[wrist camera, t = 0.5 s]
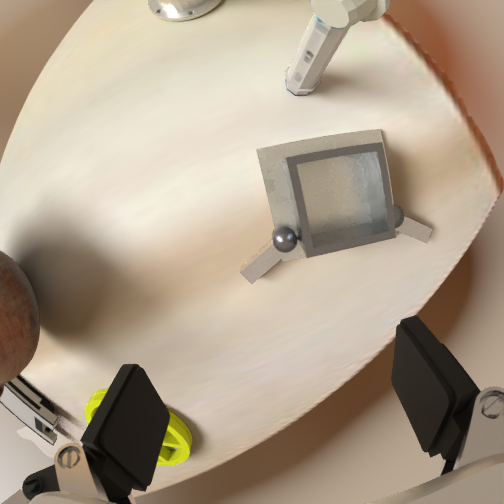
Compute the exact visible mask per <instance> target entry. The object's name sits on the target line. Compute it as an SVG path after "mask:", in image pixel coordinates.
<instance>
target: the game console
mask: <svg viewBox="0 0 504 504" xmlns="http://www.w3.org/2000/svg"><path fill="white" fill-rule="evenodd" d="M0 402H1V403H2V404H3V405H4V406H5V407H6V408H7V409H8V410H9V411H10V412H11V413H12V414H14V415H15V416H16V417H17V418H18V419H19V420H21V421H22V422H23V423H24V424H25V425H26V426H28V427H29V428H30V429H31V430H33V431H34V432H35V433H37V434H38V435H39V436H40V437H42V438H43V439H44V440H46V441H47V442H49V443H50V444H51V445H54V443H55V442H56V440H57V434H55V433H54V432H53V430H54V428H55V427H56V425H57V424H58V417H57V416H56V415H54V409H53V408H51V407H50V406H49V405H50V401H48V400H47V399H46V398H44V397H43V396H42V395H41V394H39V393H38V392H37V391H36V390H35V389H33V388H32V387H31V386H30V385H29V384H27V383H26V382H25V381H24V380H23V379H22V378H21V377H20V376H17V377H15V378H14V379H12V380H10V381H9V382H7V383H5V385H4V391H3V394H2V396H1V397H0Z"/></svg>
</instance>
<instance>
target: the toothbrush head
mask: <svg viewBox="0 0 504 504" xmlns="http://www.w3.org/2000/svg"><path fill="white" fill-rule="evenodd" d="M391 1H392V0H311V2H310V4H311V7H312V10H313V12H314V14H313V16H312V18H311V20H310V22H309V25H308V27H307V29H306V31H305V33H304V36H303V38H302V40H301V42H300V45H299V47H298V49H297V51H296V54H295V56H294V58H293V61H292V63H291V65H290V66H289V67H288V68H287V69H286V70H285V75H286V87H287V90H288V91H290V92H291V93H292V94H294V95H295V96H306V95H307V94H308V93H309V92H312V91H313V90H314V89H315V88H316V87H317V86H318V85H319V84H320V82H321V81H320V77H321V75H322V73H323V72H324V70H325V68H326V67H327V65H328V63H329V61H330V60H331V58H332V56H333V55H334V53H335V51H336V50H337V48H338V46H339V45H340V43H341V41H342V40H343V38H344V36H345V35H346V33H347V31H348V30H349V28H350V26H352V25H354V24H356V23H357V22H359V21H363V22H366V21H373V20H378V19H379V18H380V17H381V16H382V15H383V14H384V13H385V12H386V11H387V9H388V8H389V7H390V2H391Z"/></svg>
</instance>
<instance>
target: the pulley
mask: <svg viewBox="0 0 504 504" xmlns="http://www.w3.org/2000/svg"><path fill="white" fill-rule="evenodd" d="M107 391H108V389H102V390H99V391H97V392H95V393H94V394H93V396H92V397H91V399H90V401H89V402H88V403H87V405H86V407H85V417H86V420H87V422H88V424H89V423H90V421H91V419H92V418H93V416H94V414H95V412H96V410H97V407H99V405H100V403H101V401H102V399H103V398H104V396H105V394H106V392H107ZM168 411H169V410H168ZM169 413H170V421H169V424H168V428H167V430H168V431H166V434H165V438H164V441H163V444H162V448H161V451H160V454H159V458H158V461H157V464H156V465H176V464H179V463H182V462H184V461H185V460H186V459H187V458H188V457H189V454H190V450H191V446H192V435H191V432H190V430H189V429H188V427H187V426H186V425H185V423H184V422H183V421H182V420H181V419H180V418H178V417H177V416H176V415H175V414H174V413H172V412H171V411H169ZM165 446H169V447H175V448H179V449H177V450H174V451H170V450H169V449H168V448H166V447H165Z"/></svg>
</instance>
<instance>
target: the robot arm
mask: <svg viewBox="0 0 504 504" xmlns="http://www.w3.org/2000/svg"><path fill="white" fill-rule="evenodd" d="M221 1H222V0H148V5H149V8H150V10H151V11H152V13H153V14H154V15H155V16H157V17H158V18H160V19H163V20H166V21H185V20H190V19H193V18H196V17H199V16H202V15H204V14H206V13H207V12H209V11H211V10H212V9H213V8H215V7H216V6H217V5H218V4H219V3H220V2H221ZM391 380H392V385H393V387H394V389H395V391H396V393H397V395H398V397H399V400H400V401H401V404H402V406H403V408H404V410H405V412H406V414H407V416H408V419H409V421H410V423H411V425H412V427H413V430H414V432H415V434H416V436H417V438H418V441H419V443H420V445H421V448H422V450H423V451H424V452H428V453H429V455H430V457H433V456H435V455H437V454H439V453H441V456H442V458H443V459H444V462H443V465H442V467H441V469H440V472H439V474H438V477H437V478H435V479H433V480H431V481H428V482H426V483H423V484H421V485H419V486H416V487H414V488H411V489H408V490H406V491H403V492H400V493H397V494H394V495H391V496H389V497H385V498H382V499H379V500H376V501H373V502H369V503H366V504H504V389H503V388H500V387H489V388H486V389H484V390H483V391H480V390H479V388H478V387H477V386H476V384H475V383H474V382H473V380H472V379H471V378H470V376H469V375H468V374H467V372H466V371H465V370H464V368H463V367H462V366H461V365H460V363H459V362H458V361H457V360H456V358H455V357H454V356H453V355H452V353H451V352H450V351H449V350H448V349H447V347H446V346H445V345H444V344H442V343H440V342H439V341H438V340H437V338H436V337H435V336H434V335H433V334H432V332H431V331H430V330H429V329H428V328H427V326H426V325H425V324H424V323H423V322H422V321H421V320H420V319H419V317H418V316H416V315H415V316H411V317H408V318H405V319H402V320H401V322H400V324H399V325H397V327H396V339H395V350H394V360H393V369H392V377H391ZM169 421H170V413H169V411H168V409H167V408H166V406H165V405H164V403H163V401H162V400H161V398H160V396H159V395H158V393H157V391H156V390H155V388H154V386H153V385H152V383H151V381H150V379H149V378H148V376H147V374H146V372H145V371H144V369H143V368H141V367H140V366H139V365H138V364H124V365H122V367H121V368H120V370H119V372H118V373H117V375H116V377H115V378H114V380H113V382H112V384H111V385H110V387H109V389H108V391H107V392H106V394H105V396H104V398H103V399H102V401H101V403H100V405H99V407H98V408H97V410H96V412H95V414H94V416H93V418H92V419H91V421H90V423H89V425H88V427H87V429H86V431H85V432H84V434H83V436H82V438H81V440H80V441H81V442H82V443H83V446H82V447H81V446H80V445H79V444H76V443H68V444H65V445H63V446H62V447H61V448H60V449H58V451H57V452H56V454H55V458H54V463H55V464H54V465H52V466H50V467H48V468H45V469H43V470H40V471H38V472H36V473H33V474H31V475H29V476H28V477H27V478H26V479H25V481H24V482H23V487H22V488H23V491H22V490H19V491H17V492H16V493H15V494H14V495H12V496H11V497H10V498H8V499H7V500H6V501H4V502H3V503H2V504H137V503H136V502H135V500H134V498H133V496H132V494H131V490H132V488H133V489H134V490H139V491H144V492H146V489H147V486H149V485H150V484H151V482H152V478H153V475H154V471H155V468H156V464H157V461H158V458H159V454H160V451H161V448H162V444H163V441H164V438H165V434H166V431H167V428H168V424H169Z"/></svg>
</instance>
